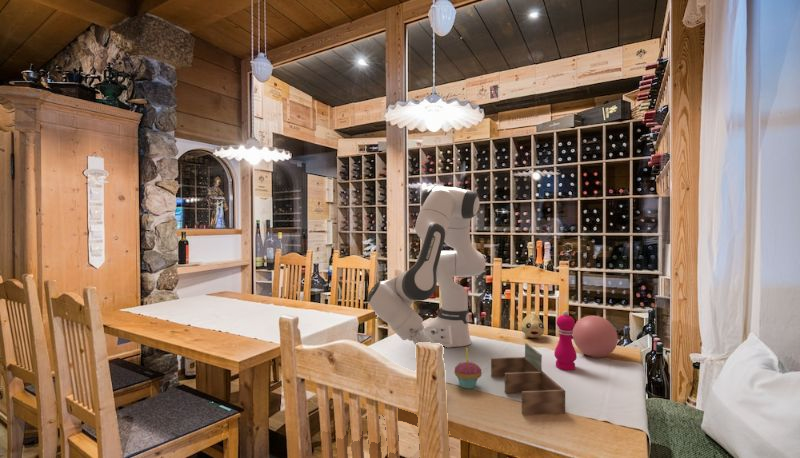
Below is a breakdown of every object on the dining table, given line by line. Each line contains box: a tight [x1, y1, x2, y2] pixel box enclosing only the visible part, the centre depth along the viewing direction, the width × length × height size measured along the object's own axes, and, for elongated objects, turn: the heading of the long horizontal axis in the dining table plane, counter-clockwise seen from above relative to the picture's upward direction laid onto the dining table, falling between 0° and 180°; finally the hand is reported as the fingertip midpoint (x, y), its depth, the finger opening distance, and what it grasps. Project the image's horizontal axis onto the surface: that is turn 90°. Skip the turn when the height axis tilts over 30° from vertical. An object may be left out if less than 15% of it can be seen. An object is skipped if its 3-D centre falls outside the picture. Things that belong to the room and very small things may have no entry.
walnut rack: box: [490, 343, 566, 416], centre depth 118 cm, size 12×26×11 cm, turn 5°
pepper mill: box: [554, 310, 577, 372], centre depth 138 cm, size 7×7×20 cm
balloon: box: [572, 315, 619, 358], centre depth 152 cm, size 15×20×15 cm
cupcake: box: [453, 347, 482, 389], centre depth 123 cm, size 9×8×12 cm
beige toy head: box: [520, 313, 545, 340], centre depth 173 cm, size 10×12×11 cm
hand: (440, 356), depth 122 cm, fingers closed
